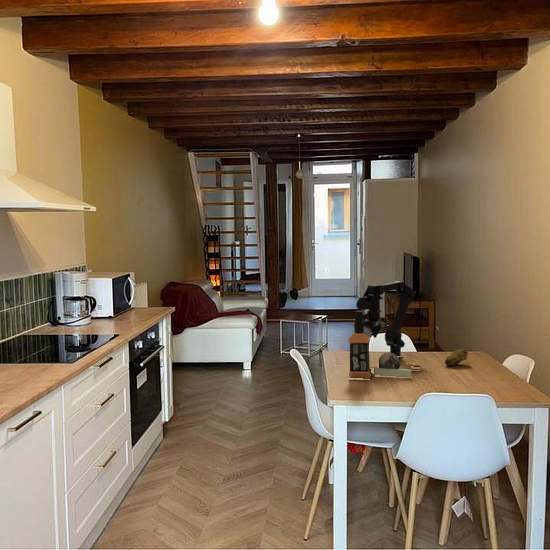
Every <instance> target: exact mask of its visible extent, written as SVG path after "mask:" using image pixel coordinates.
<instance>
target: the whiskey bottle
mask: <svg viewBox="0 0 550 550" xmlns="http://www.w3.org/2000/svg"><path fill="white" fill-rule="evenodd" d="M363 312H364V310H355V311H354V319H355V320H354V324H353V329H354V332H352V333H351V334H350V335H349V337H348V343H349V371H348V378H349V377H350V378H363V379H370V376H371V377H372V374H371V369H370V368H371V365H370V363H371V362H370V341H371V336H370V335H369V334H368V333H366V332H365V326H364V323H363V322H364V321H363V314H364V313H363Z"/></svg>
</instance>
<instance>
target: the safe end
mask: <svg viewBox="0 0 550 550" xmlns="http://www.w3.org/2000/svg"><path fill="white" fill-rule="evenodd" d="M373 368H374V374H373V376H374V375H380V376H396V377H411V378H412V375H411V369H407V368H399V369H381V368H376V367H373Z"/></svg>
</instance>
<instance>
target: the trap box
mask: <svg viewBox="0 0 550 550" xmlns="http://www.w3.org/2000/svg"><path fill="white" fill-rule="evenodd" d="M408 365H409V366H414V367H420V369H412V368H409V369H411V370H421V371H422V372H423V367H422V366H423V365H422V364H421V365H419V364H412V363H409V364H408ZM409 366H408V367H409Z"/></svg>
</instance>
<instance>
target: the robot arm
mask: <svg viewBox="0 0 550 550" xmlns="http://www.w3.org/2000/svg"><path fill="white" fill-rule="evenodd" d="M392 291H396V293H397V294H398V297H397V298H398V302H399V303H398V305H397V308H396V312H395V316H394V319H393V322H392V325H391V327H390V328H386V330H385V334H384V341H385V344H386V346H389V347H390V348H389V353H393V354H395V355H396V356H402V350H401V349H403V348H404V347H405V344H406V343H405V341H404V340H403V339H402V336H403V335H402V330H401V329H402V326H403V323H404V320H405V318H406V314H407V311H408V307H409V306H410V304H411V303H412V302H413V301H414V299H415V297H416V293H415V290H414V289H412V288H411V287H410V286H408V285H407V284H406V283H404V281H401V280H400V281H399V280H395V281H392V282H388V283H387V282H386V283H382V284H368V285H367V288H366V290H365V292H364V294H363V295H362V296H359V297H358V299H357V301H356V308H357V309H358V311H366V313H363V323H364V328H365V327H366V328H367V327H368V328H370V330H371V334H372V336H373V338H375V339H376V338H377V336H378V334H379V333H380V329H381V328H382V326H383V323H387V318H386V316H383V315H381V313H382V309H381V300H384V297H382V295H384V293H386V292H392ZM381 322H383V323H381Z"/></svg>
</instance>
